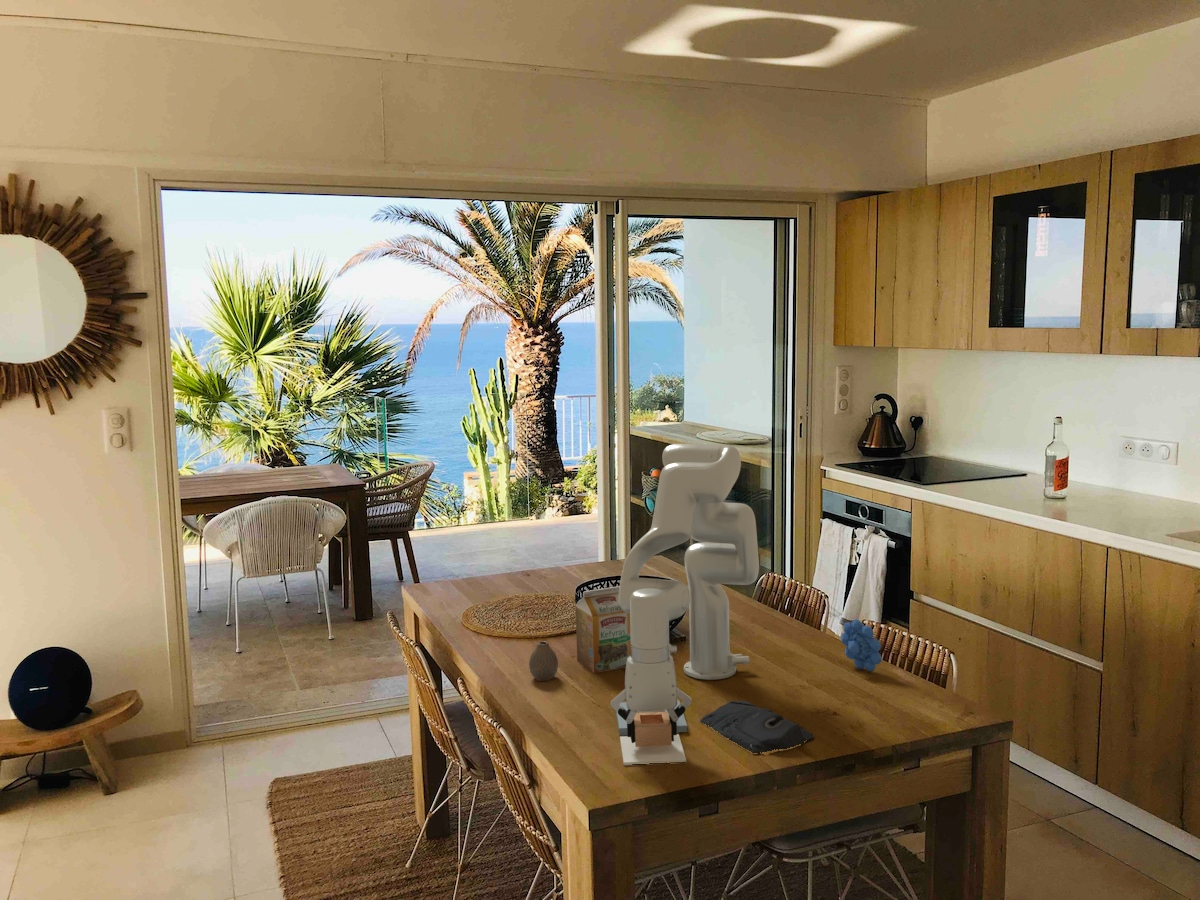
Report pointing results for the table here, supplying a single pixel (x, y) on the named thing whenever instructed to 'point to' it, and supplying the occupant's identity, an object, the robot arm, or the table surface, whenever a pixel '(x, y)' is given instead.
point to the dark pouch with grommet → (755, 727)
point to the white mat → (651, 752)
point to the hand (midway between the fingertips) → (652, 738)
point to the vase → (543, 662)
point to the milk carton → (602, 630)
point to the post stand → (623, 724)
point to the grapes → (861, 645)
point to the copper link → (652, 729)
